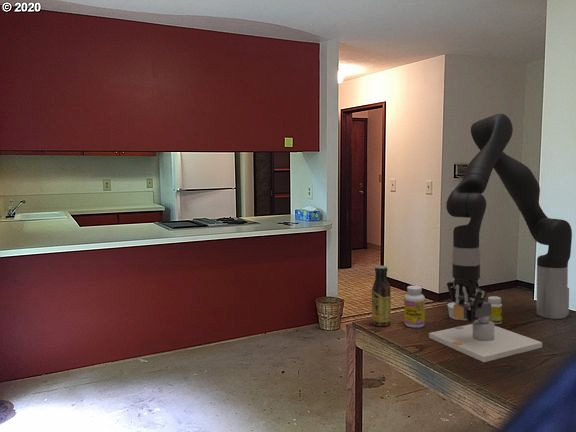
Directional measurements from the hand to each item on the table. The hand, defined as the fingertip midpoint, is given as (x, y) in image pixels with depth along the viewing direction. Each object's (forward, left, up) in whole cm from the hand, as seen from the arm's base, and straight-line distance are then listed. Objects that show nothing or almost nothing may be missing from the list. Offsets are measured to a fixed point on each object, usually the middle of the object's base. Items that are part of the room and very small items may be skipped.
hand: (466, 319), depth 144 cm
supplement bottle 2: (-23, -11, -8) cm, 27 cm away
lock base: (-6, +1, -8) cm, 10 cm away
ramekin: (-18, -21, -8) cm, 29 cm away
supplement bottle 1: (+1, -22, -8) cm, 23 cm away
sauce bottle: (+10, -28, -8) cm, 31 cm away
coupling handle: (-2, 0, -1) cm, 3 cm away
